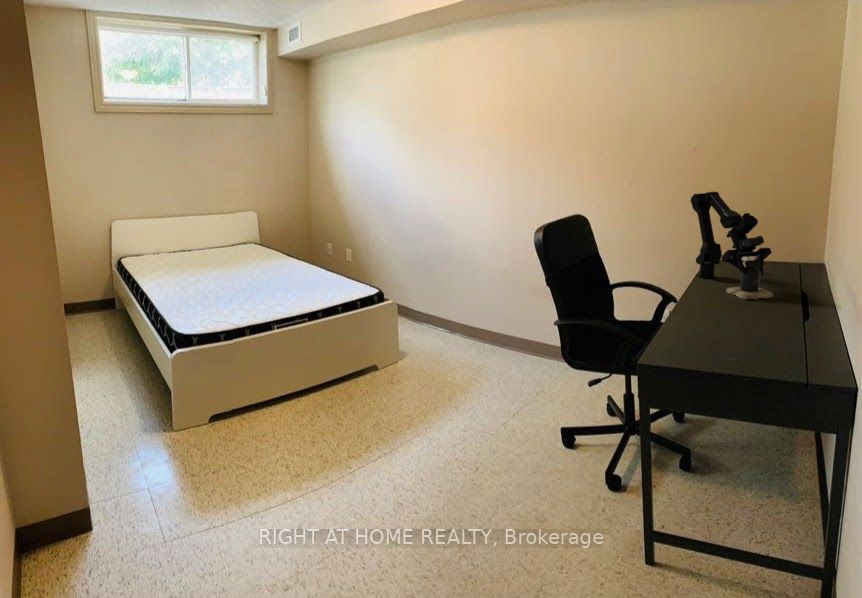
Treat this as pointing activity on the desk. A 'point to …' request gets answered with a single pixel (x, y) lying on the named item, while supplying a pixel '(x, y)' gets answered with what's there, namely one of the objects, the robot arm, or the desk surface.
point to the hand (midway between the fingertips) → (753, 272)
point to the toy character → (748, 259)
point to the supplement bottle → (750, 277)
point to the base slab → (749, 293)
